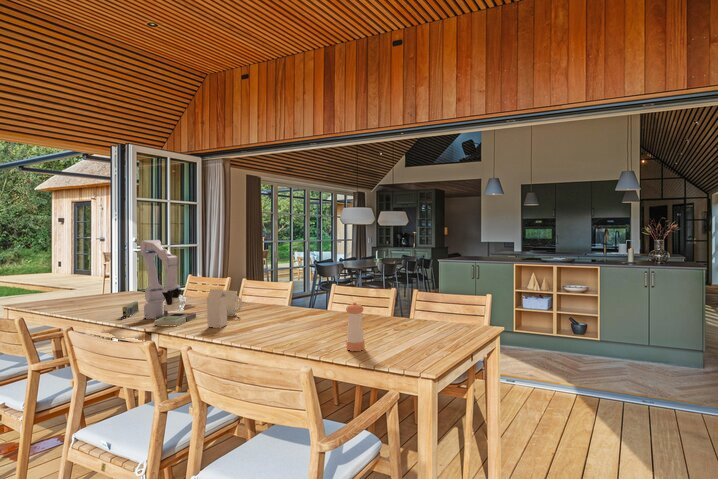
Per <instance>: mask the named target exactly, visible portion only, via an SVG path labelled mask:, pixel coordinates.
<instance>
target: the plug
mask: <svg viewBox="0 0 718 479" xmlns="http://www.w3.org/2000/svg"><path fill="white" fill-rule="evenodd" d="M179 302H181V300H180V297H179V298H172V305H167V302H166V301H164V305H166V311H168V312H174V311H175V312H176V311H177V310H180V308H181V307H180V304H179Z"/></svg>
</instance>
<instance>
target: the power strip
mask: <svg viewBox="0 0 718 479" xmlns="http://www.w3.org/2000/svg"><path fill="white" fill-rule="evenodd" d="M163 317H186V322H189V321H191V320H193V319H194V320H195V319H196V318H197V313H196V312H193V311H191V312H190V311H189V312H168V314H167V315H164V313H163V314H162V315H159V316H156V319H155V320H157V319H160V318H163Z"/></svg>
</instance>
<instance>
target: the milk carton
mask: <svg viewBox="0 0 718 479" xmlns="http://www.w3.org/2000/svg"><path fill="white" fill-rule="evenodd" d="M223 290H224V289H223V288H222V289H220V288H219V289H218V288H217V289H216V288H211V289H209V292H208V294H207V297H206V317H207V328H209V327H213V328H214V329H215V328H216V329H221V328H222V327H225V326H227V325H228V316H227V301H226V295H225V294H224V292H223Z"/></svg>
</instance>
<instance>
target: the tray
mask: <svg viewBox="0 0 718 479" xmlns="http://www.w3.org/2000/svg"><path fill="white" fill-rule="evenodd" d="M153 322H154V325H178V326H180V325H182V323H183V324H184V323H186V322H187V321H186V317H163V318H160V319H157V320H156V319H154V321H153ZM179 324H180V325H179Z"/></svg>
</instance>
